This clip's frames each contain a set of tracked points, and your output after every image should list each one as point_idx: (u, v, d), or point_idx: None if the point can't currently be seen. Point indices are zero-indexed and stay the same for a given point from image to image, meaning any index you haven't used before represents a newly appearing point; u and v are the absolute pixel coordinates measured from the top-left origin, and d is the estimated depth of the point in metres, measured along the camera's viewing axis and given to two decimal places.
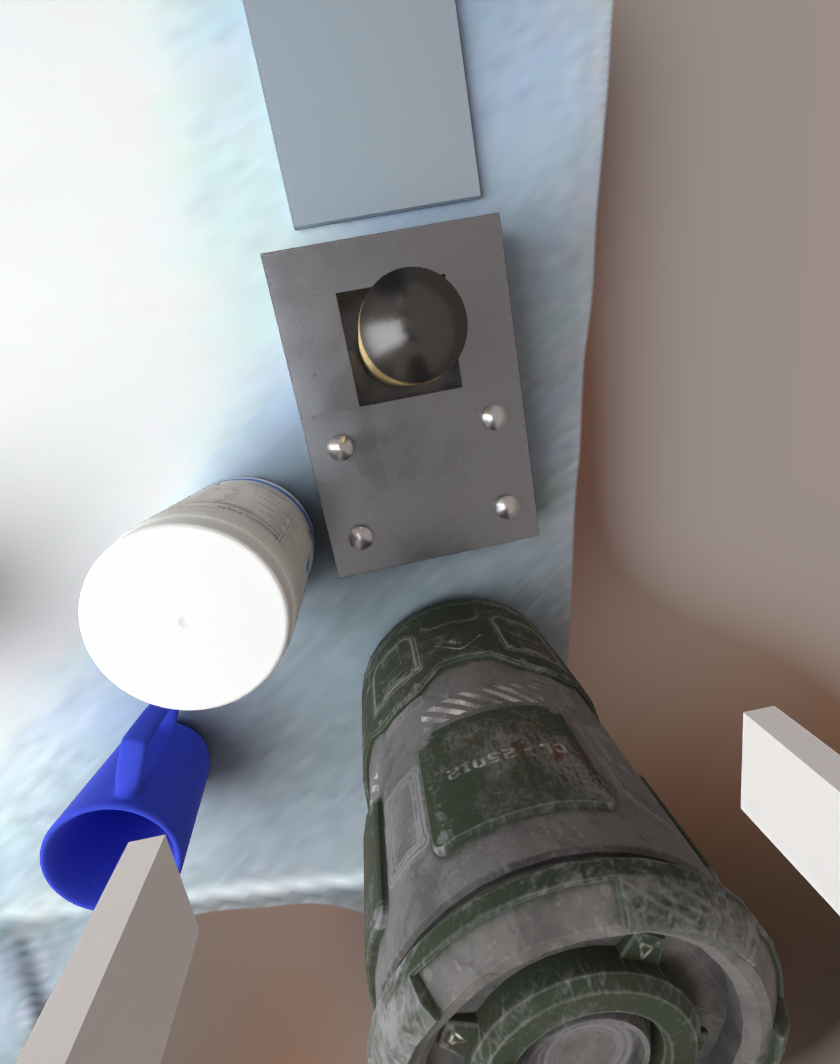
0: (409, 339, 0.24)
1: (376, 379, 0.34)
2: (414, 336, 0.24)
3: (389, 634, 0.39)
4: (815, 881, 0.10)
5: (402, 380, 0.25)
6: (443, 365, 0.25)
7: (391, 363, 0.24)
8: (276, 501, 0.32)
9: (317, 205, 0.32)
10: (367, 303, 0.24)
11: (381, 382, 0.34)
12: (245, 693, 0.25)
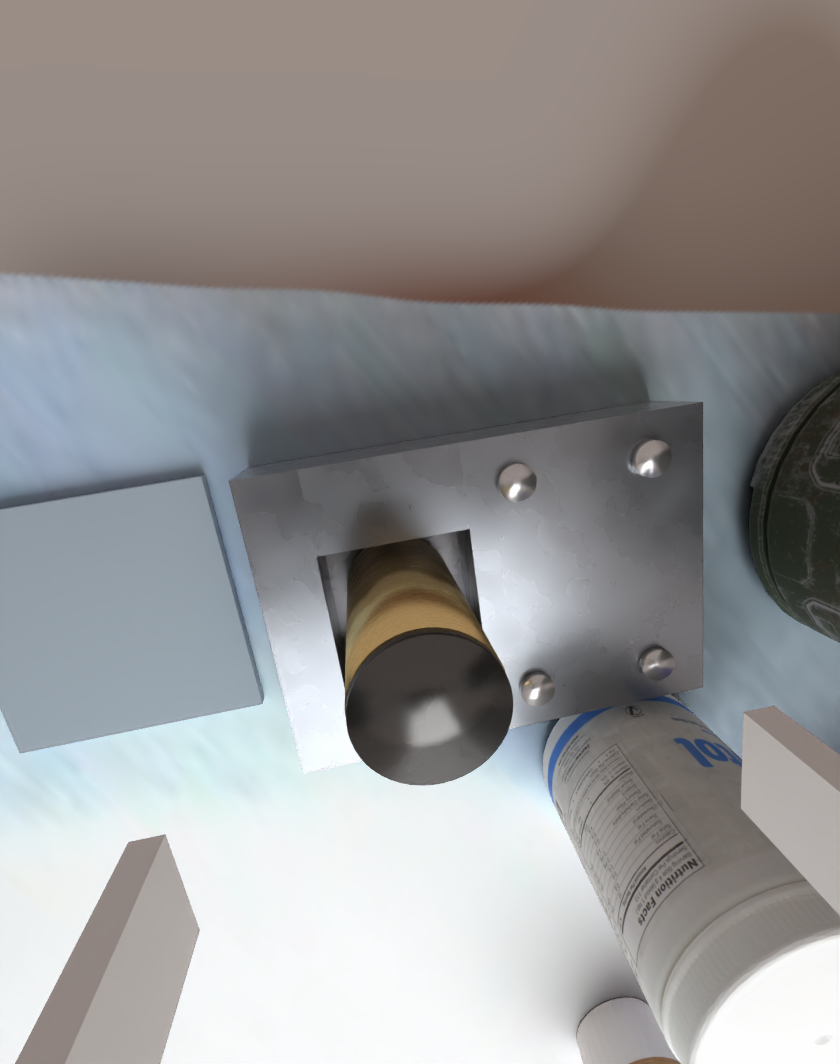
0: (449, 719, 0.16)
1: None
2: (446, 712, 0.16)
3: (777, 601, 0.28)
4: (815, 881, 0.10)
5: (508, 726, 0.16)
6: (490, 669, 0.15)
7: (482, 741, 0.16)
8: (599, 771, 0.25)
9: (235, 678, 0.26)
10: (398, 775, 0.16)
11: None
12: None
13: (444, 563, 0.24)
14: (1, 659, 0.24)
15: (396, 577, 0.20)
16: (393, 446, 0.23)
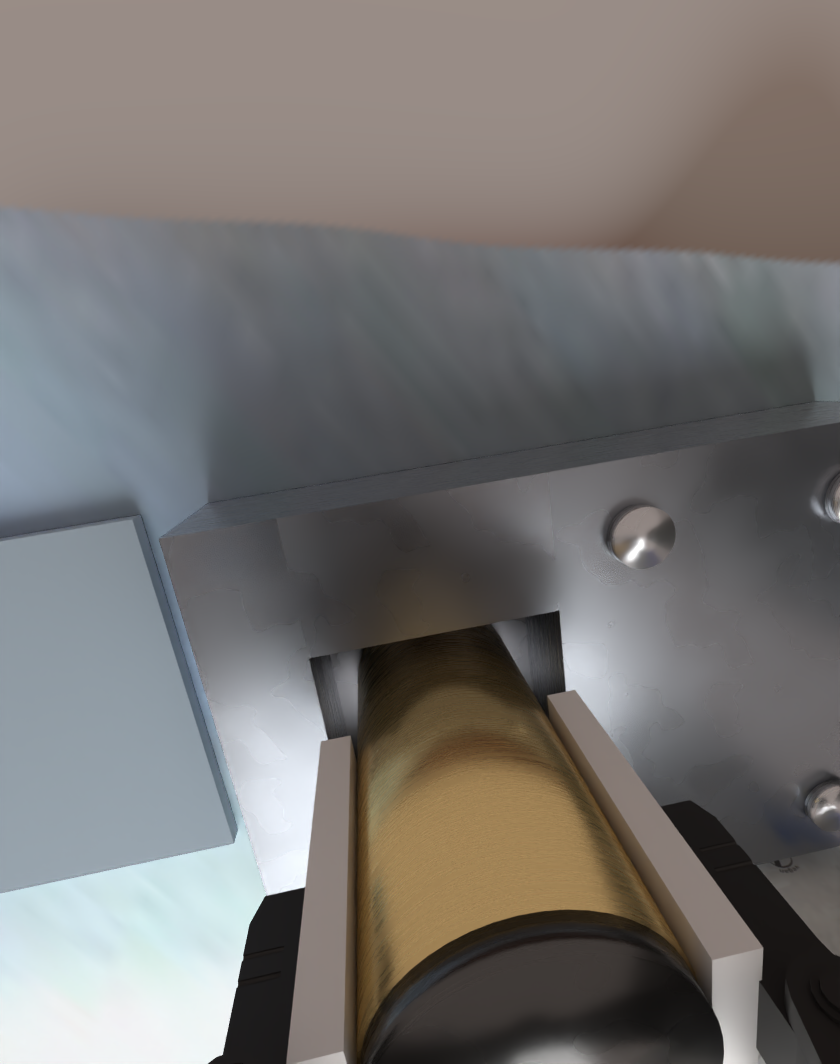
0: None
1: None
2: None
3: None
4: None
5: None
6: (684, 1009, 0.07)
7: None
8: None
9: (193, 809, 0.18)
10: None
11: None
12: None
13: (508, 652, 0.16)
14: None
15: (446, 712, 0.11)
16: (432, 472, 0.15)
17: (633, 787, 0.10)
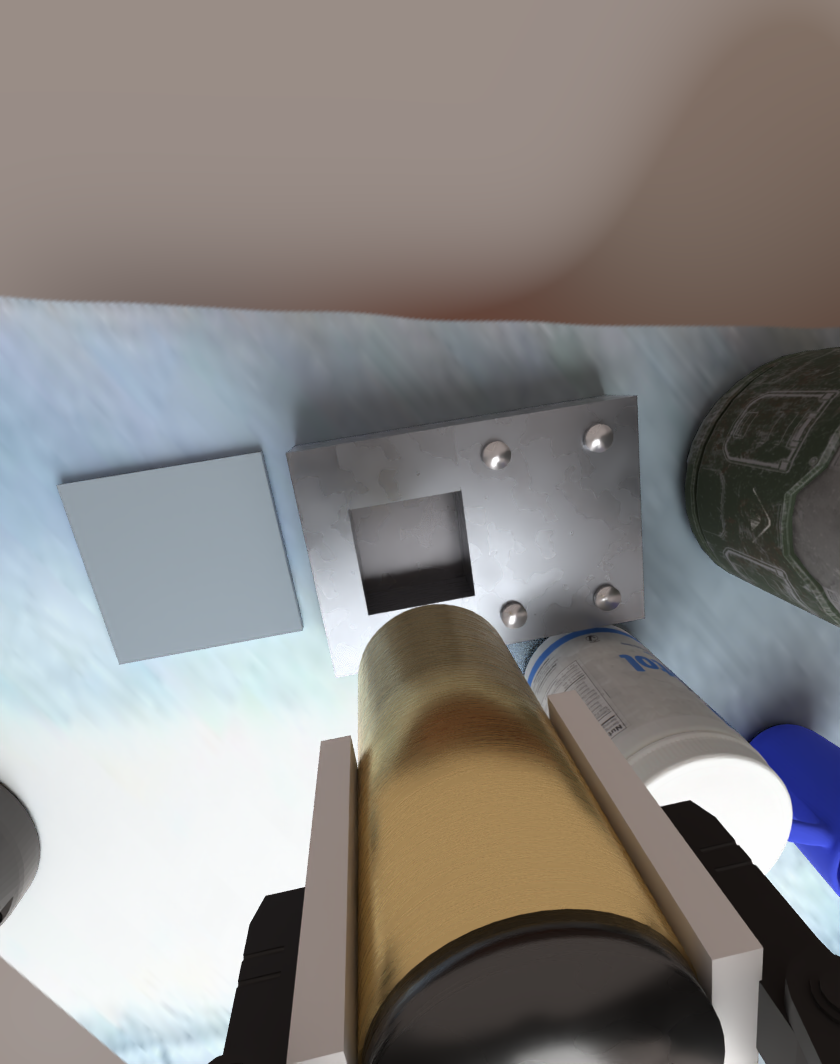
0: None
1: None
2: None
3: (709, 554, 0.35)
4: None
5: None
6: (685, 1007, 0.07)
7: None
8: (562, 680, 0.32)
9: (282, 609, 0.34)
10: None
11: None
12: (786, 793, 0.24)
13: (508, 652, 0.16)
14: (109, 590, 0.32)
15: (447, 712, 0.11)
16: (404, 429, 0.31)
17: (633, 788, 0.10)
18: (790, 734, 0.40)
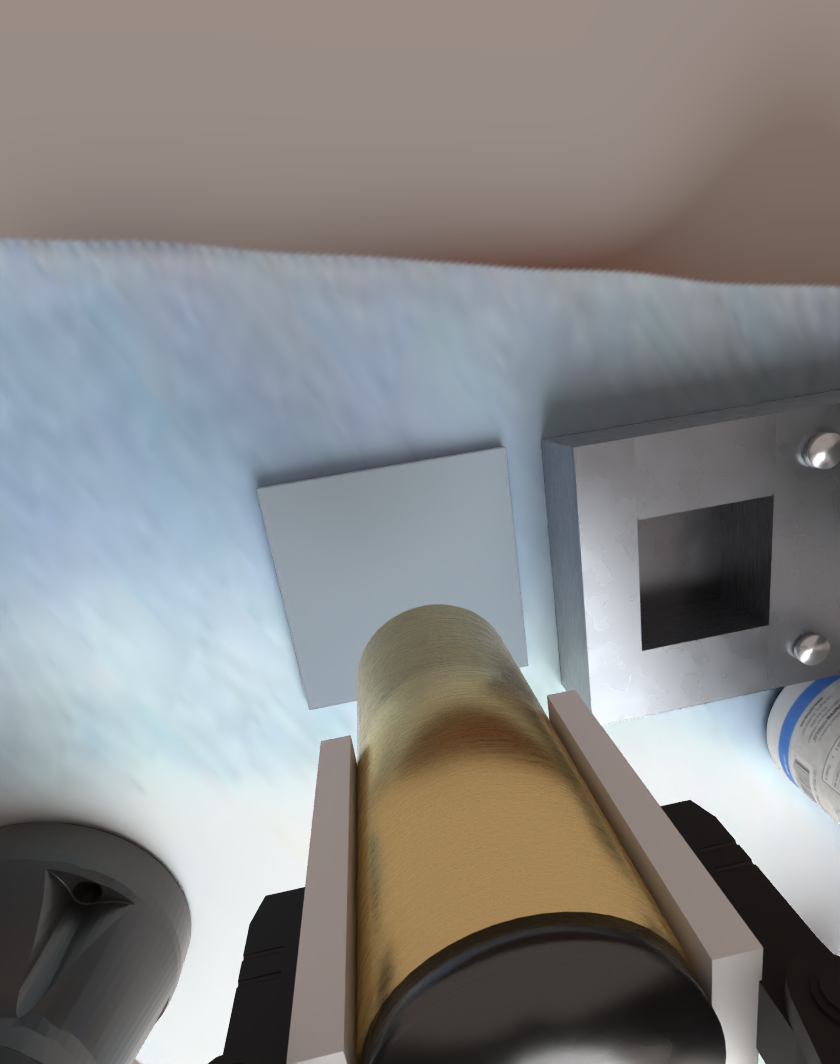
0: None
1: None
2: None
3: None
4: None
5: None
6: (687, 1012, 0.07)
7: None
8: None
9: (508, 640, 0.28)
10: None
11: None
12: None
13: (508, 652, 0.16)
14: (306, 619, 0.26)
15: (446, 713, 0.11)
16: (685, 419, 0.25)
17: (633, 787, 0.10)
18: None
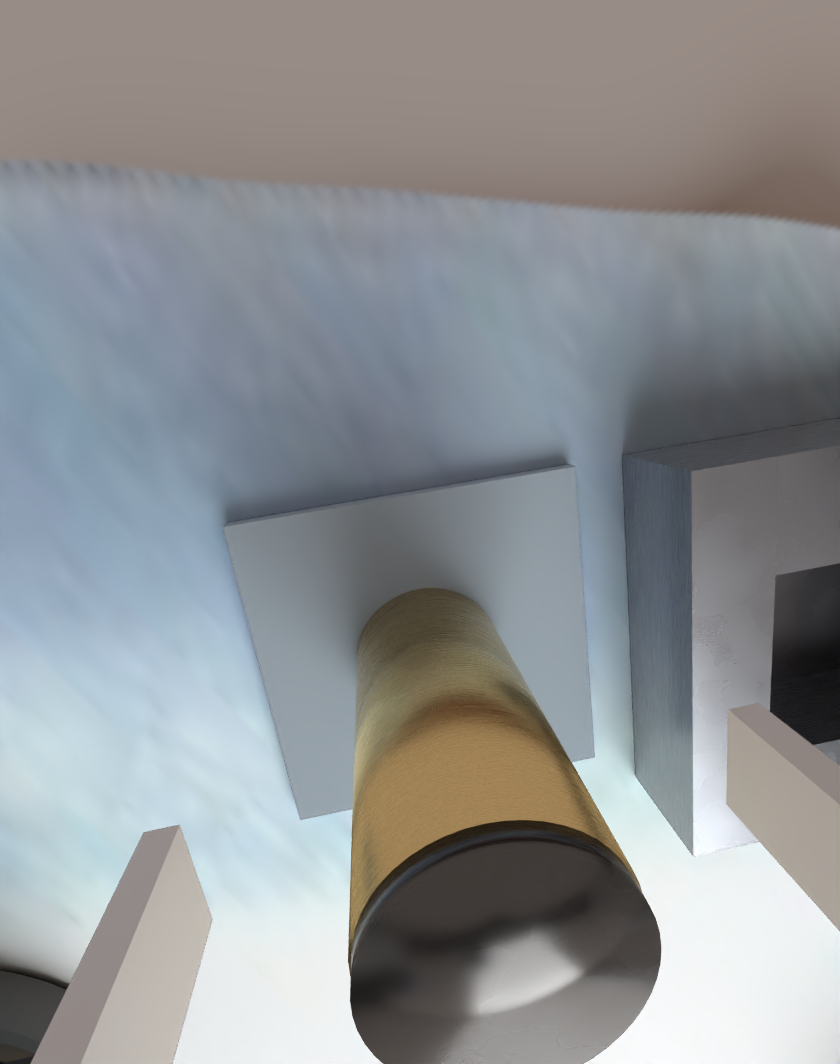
0: (543, 988, 0.08)
1: None
2: (537, 977, 0.08)
3: None
4: (797, 875, 0.10)
5: (647, 995, 0.09)
6: (625, 905, 0.08)
7: (599, 1021, 0.09)
8: None
9: (569, 725, 0.20)
10: None
11: None
12: None
13: (496, 632, 0.17)
14: (295, 703, 0.19)
15: (434, 675, 0.13)
16: (831, 427, 0.18)
17: None
18: None
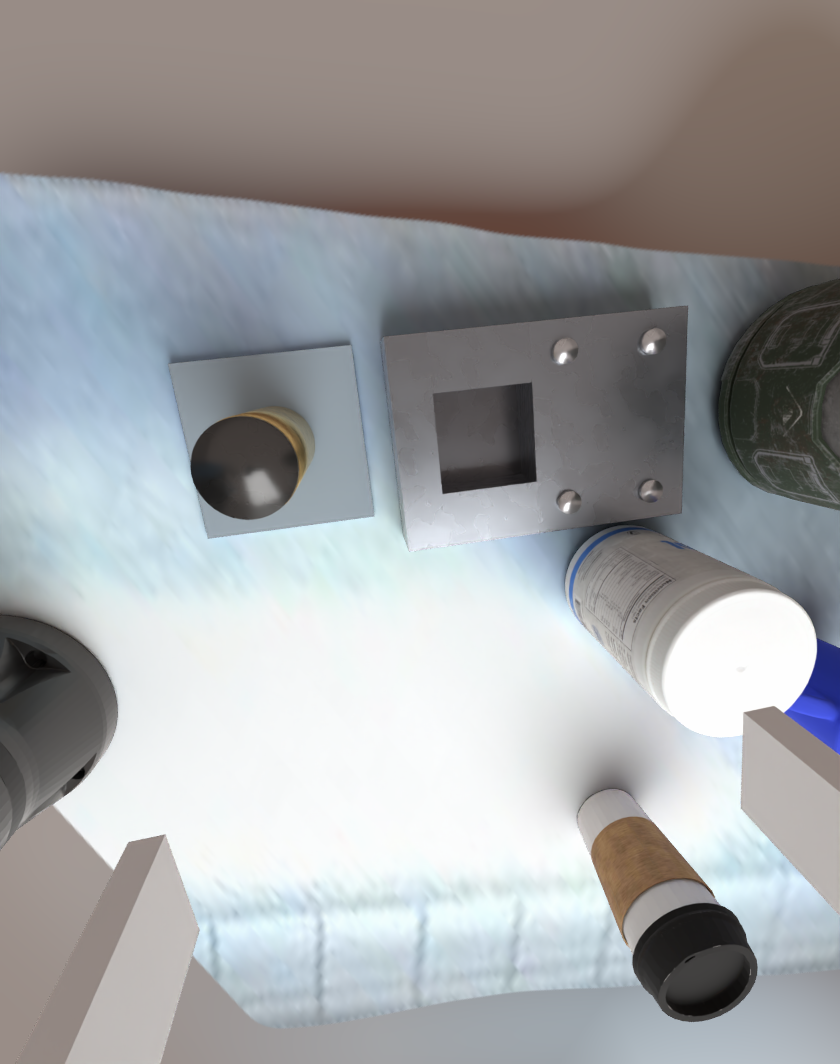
0: (256, 475, 0.26)
1: None
2: (254, 470, 0.25)
3: (736, 465, 0.40)
4: (816, 881, 0.10)
5: (294, 485, 0.26)
6: (282, 444, 0.25)
7: (278, 494, 0.26)
8: (608, 562, 0.36)
9: (358, 495, 0.38)
10: (224, 510, 0.26)
11: None
12: (813, 629, 0.29)
13: (304, 424, 0.34)
14: None
15: None
16: None
17: None
18: None
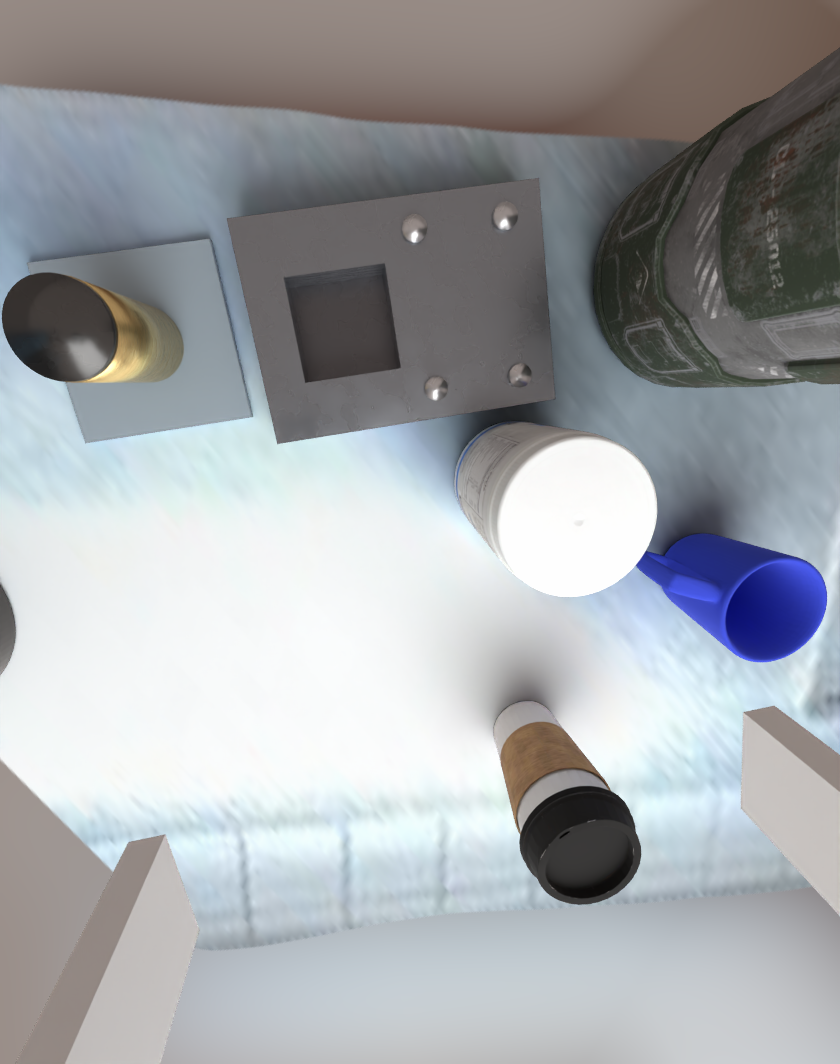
0: (71, 334, 0.26)
1: (172, 368, 0.36)
2: (68, 328, 0.26)
3: (618, 354, 0.39)
4: (816, 882, 0.10)
5: (111, 345, 0.26)
6: (93, 301, 0.26)
7: (96, 354, 0.26)
8: (480, 448, 0.36)
9: (232, 395, 0.38)
10: (42, 371, 0.26)
11: (175, 363, 0.36)
12: (650, 479, 0.28)
13: (164, 318, 0.34)
14: None
15: None
16: None
17: None
18: (699, 536, 0.44)
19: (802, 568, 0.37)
